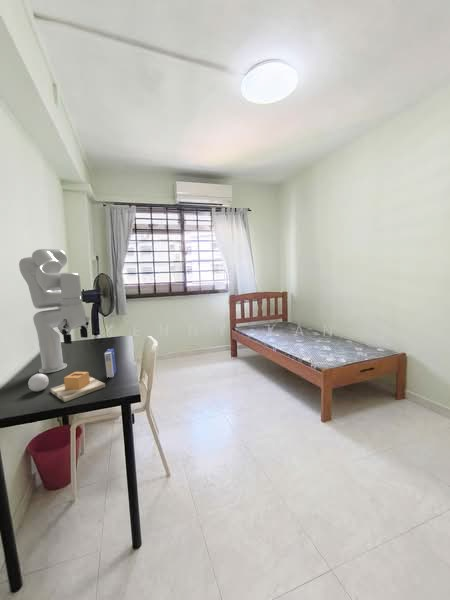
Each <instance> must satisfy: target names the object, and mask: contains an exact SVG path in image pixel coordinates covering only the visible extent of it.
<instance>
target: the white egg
mask: <svg viewBox="0 0 450 600" xmlns="http://www.w3.org/2000/svg"><path fill="white" fill-rule="evenodd" d="M49 381H50V380H49V377H48V376H47V374H45V373H36V374H34V375H31V377H30V378H29V379H28V381H27V382H28V383H27V386H28V388H29V389H30V390H31V391H33V392H40V391H44V389H46V388H47V386H48V385H49Z"/></svg>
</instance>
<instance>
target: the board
mask: <svg viewBox="0 0 450 600" xmlns="http://www.w3.org/2000/svg"><path fill="white" fill-rule="evenodd" d="M74 376H79V375H74ZM89 379H90V383H89V384H87V385H86V386H84V387H83V388H81V389H79V390H75V389H65V383H62V384H60V385H57V386H53V387H50V388H49V390H50V393H52V394H53V395H54V396H55V397H57V398H58V399H60V400H61V401H63V402H64V403H66V402H69V401H71V400H74V399H77V398H80V397H82V396H85V395H87V394H90V393H93V392H96V391H98V390H101V389H104V388H105V387H106V383H105V382H102V381H100V380H99V379H96V378H94V377H93V376H91V375H89Z"/></svg>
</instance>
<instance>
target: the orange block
mask: <svg viewBox="0 0 450 600" xmlns="http://www.w3.org/2000/svg"><path fill="white" fill-rule="evenodd" d="M74 375H79V376H74ZM89 376H90V372H89V371H74V372H72V373H70V374H68V375H65V376H64V377H63V382H64V383H63V384H65V389H75V390H79V389H81V388H83V387H84V386H86V385H87V384H89V383H90V379H89Z"/></svg>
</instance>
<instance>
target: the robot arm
mask: <svg viewBox="0 0 450 600" xmlns="http://www.w3.org/2000/svg"><path fill="white" fill-rule="evenodd" d="M67 262H68V257H67V254H66V253H65V252H64V251H63V250H61V249H59V248H58V249H57V248H56V249H51V248H50V249H49V248H41V249H40V248H39V249H36V250H35V251H33V252H32V254H31V256H28V257H24V258H21V259H20V260H19V263H18V268H19V271H20V274H21V276H22V278H23V280H24V281H25V283H26V284H27V286H28V291H29V294H30V298H31V302H32V305H33V307H34V308H35V309H37V310H40V311H37V312H36V313H35V314H34V315H33V317H32V319H33V323H34V327H35V330H36V333H37V339H38V340H37V341H38V346H39V354H40V360H41V367H40V368H39V369H38V373H39V374H51V373H56V372H59V371H62V370H65V369H66V368H67V367H68V364H67V363H66V362H64V358H63V350H62V343H61V337H60V334H61V335H62V336H63V343H64V344H66V345H69V344H70V345H71V344H72V342H73V341H72V335H71V331H72V330H73V329H77V328H79V331H80V334H79V335H80V337H81V338H82V339H83V338H88V336H89V335H88V328H89V323H90V322H89V321H90V317H88V316H86V310H85V307H84V303H83V295H82V288H81V287H82V286H81V278H80V275H79V273H77V272H61V270H62V269H63V268H64V267H65V266H66V264H67ZM53 308H55V309H53ZM45 309H48V310H45ZM55 328H57V329H58V331H59V332H57V330H55Z"/></svg>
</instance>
